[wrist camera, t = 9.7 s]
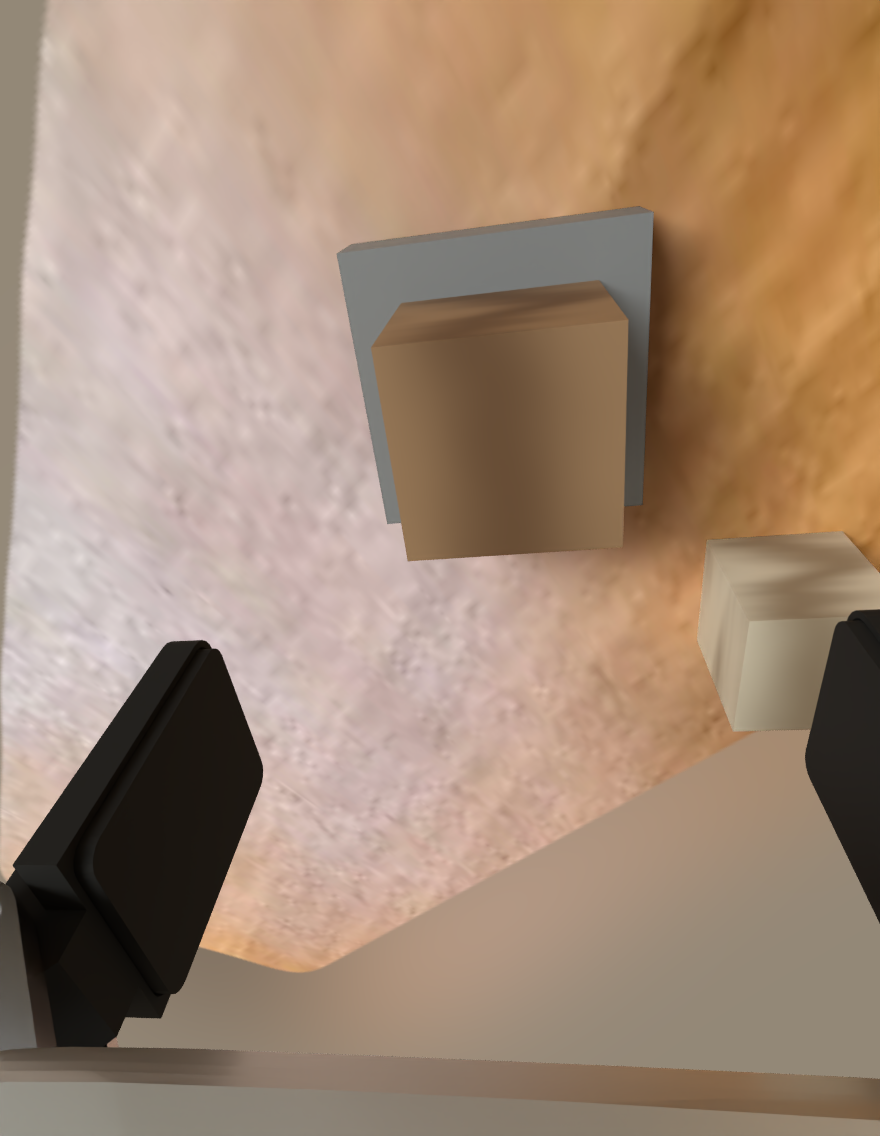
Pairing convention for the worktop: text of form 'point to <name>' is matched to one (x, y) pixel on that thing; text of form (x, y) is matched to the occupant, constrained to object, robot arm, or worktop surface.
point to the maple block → (777, 621)
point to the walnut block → (507, 420)
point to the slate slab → (502, 263)
